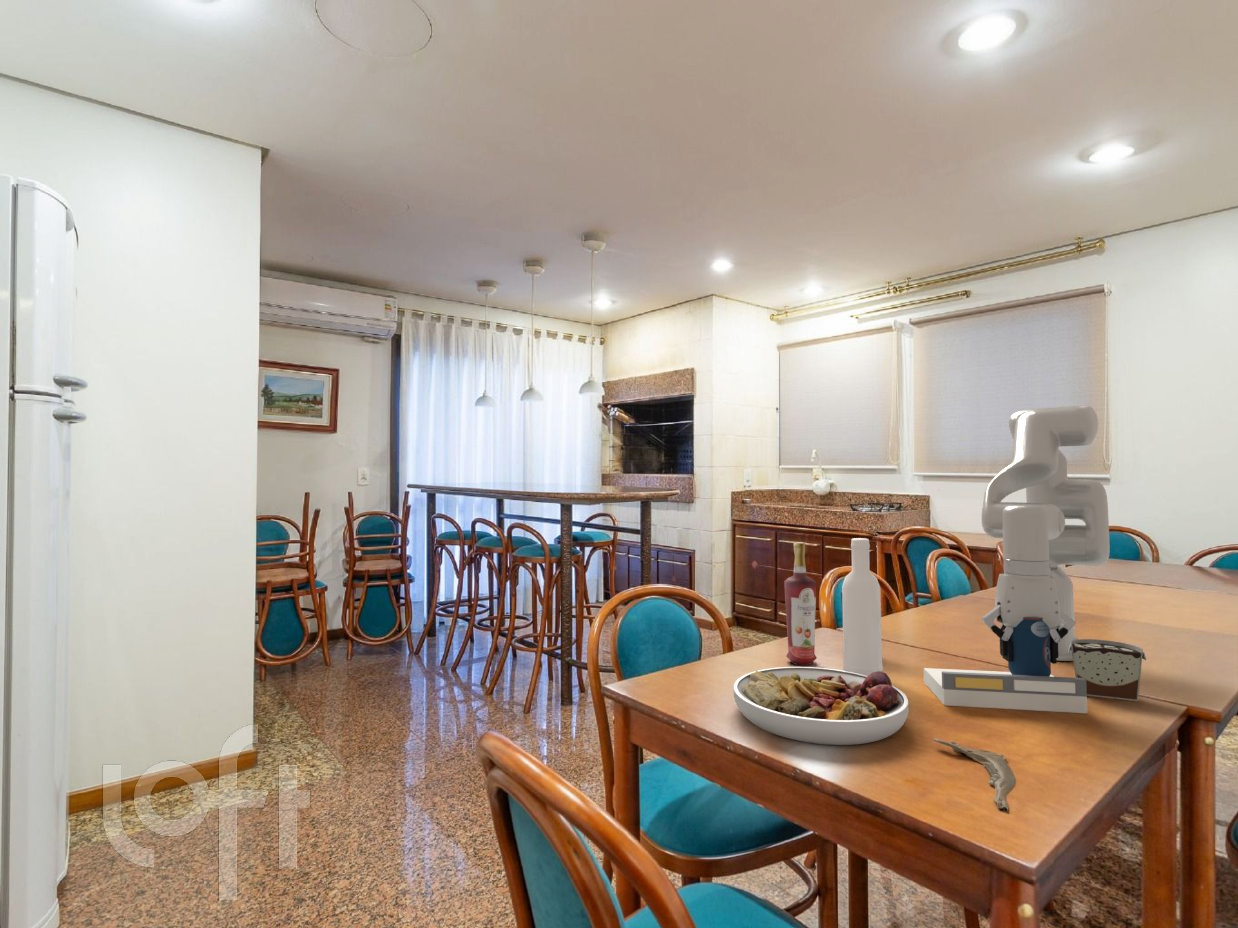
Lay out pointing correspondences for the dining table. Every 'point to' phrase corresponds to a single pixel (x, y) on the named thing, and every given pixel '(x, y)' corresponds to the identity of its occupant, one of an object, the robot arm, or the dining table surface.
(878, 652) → the bottle
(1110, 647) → the food container
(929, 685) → the display shelf
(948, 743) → the jawbone
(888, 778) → the dining table surface
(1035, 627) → the soda can
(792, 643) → the liquor
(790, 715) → the bowl
